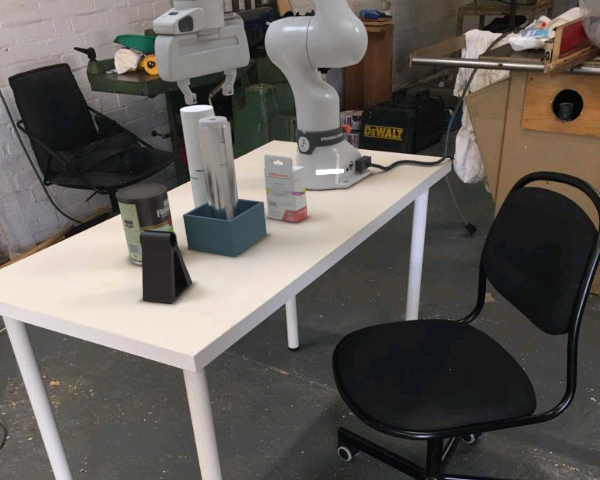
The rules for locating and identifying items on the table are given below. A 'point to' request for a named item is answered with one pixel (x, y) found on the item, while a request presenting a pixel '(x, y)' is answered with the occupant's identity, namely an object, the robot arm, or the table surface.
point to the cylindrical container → (195, 149)
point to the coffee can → (143, 214)
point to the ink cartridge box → (285, 189)
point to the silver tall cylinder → (219, 167)
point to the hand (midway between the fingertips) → (210, 99)
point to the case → (225, 229)
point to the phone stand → (162, 267)
